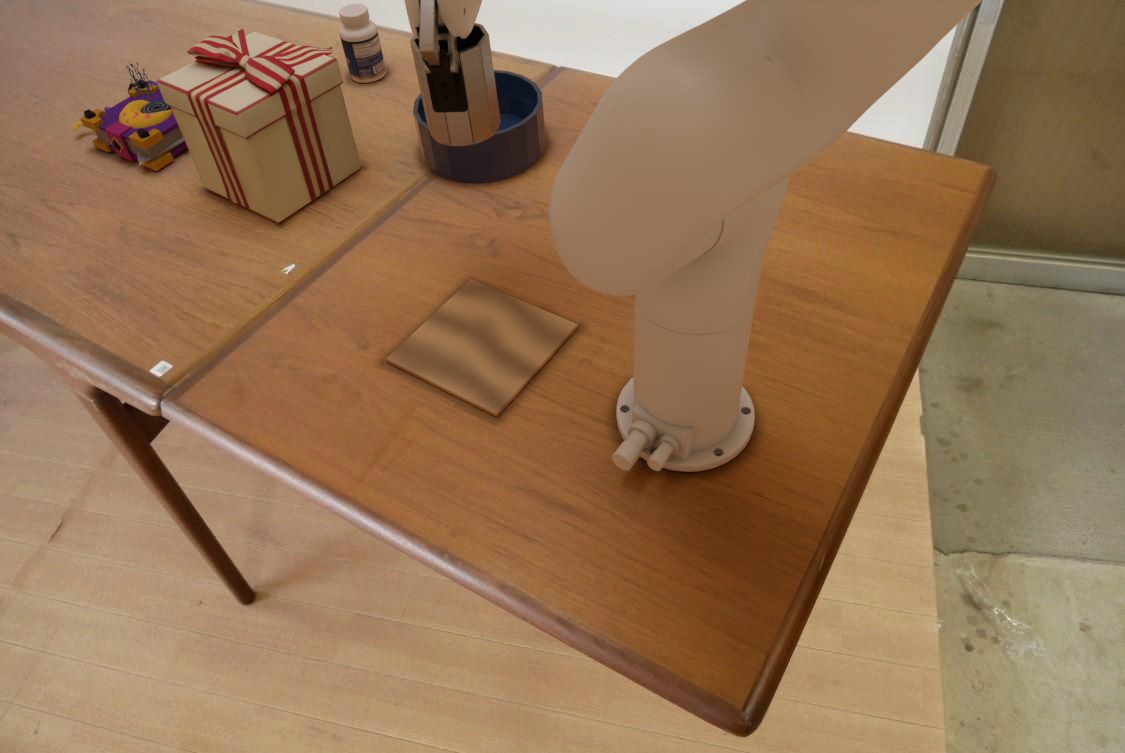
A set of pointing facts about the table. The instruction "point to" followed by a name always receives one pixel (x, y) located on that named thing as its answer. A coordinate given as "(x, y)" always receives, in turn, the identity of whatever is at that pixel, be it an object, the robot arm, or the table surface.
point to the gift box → (263, 121)
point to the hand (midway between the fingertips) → (458, 87)
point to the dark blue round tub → (503, 151)
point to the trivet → (482, 346)
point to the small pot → (479, 88)
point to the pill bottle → (361, 44)
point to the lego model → (137, 126)
